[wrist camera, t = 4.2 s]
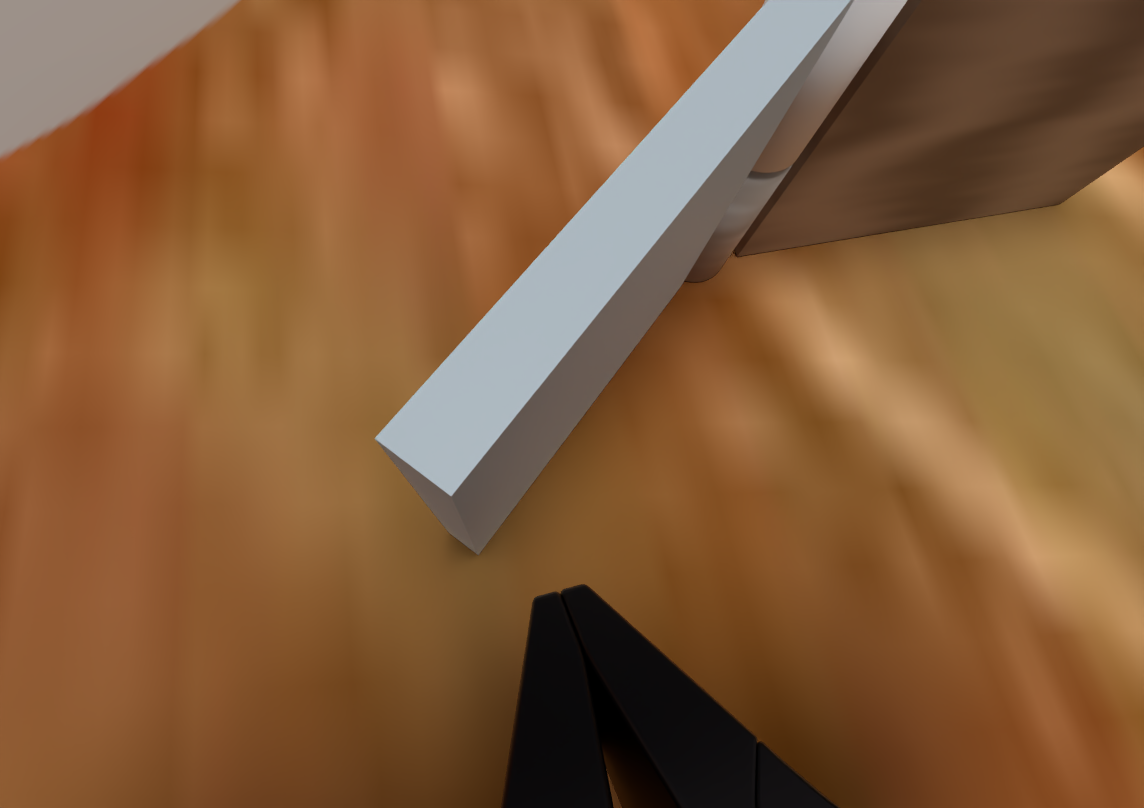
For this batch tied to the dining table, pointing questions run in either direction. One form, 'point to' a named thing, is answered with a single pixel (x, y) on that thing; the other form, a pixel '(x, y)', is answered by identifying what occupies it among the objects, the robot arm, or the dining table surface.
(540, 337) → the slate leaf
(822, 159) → the walnut leaf
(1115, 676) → the dining table surface
